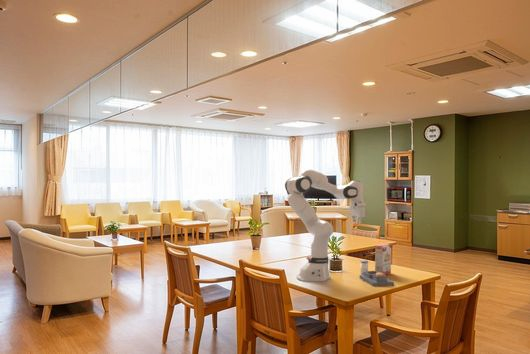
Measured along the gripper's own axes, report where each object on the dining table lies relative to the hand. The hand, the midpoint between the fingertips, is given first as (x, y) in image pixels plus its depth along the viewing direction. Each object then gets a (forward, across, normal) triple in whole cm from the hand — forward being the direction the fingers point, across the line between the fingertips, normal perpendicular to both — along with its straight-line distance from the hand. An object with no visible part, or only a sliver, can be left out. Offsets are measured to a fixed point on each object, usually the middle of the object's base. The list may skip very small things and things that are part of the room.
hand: (356, 222), depth 277 cm
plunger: (+32, +31, +2) cm, 45 cm away
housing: (+35, +26, +2) cm, 44 cm away
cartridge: (+35, +8, +2) cm, 36 cm away
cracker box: (+35, +10, +15) cm, 40 cm away
